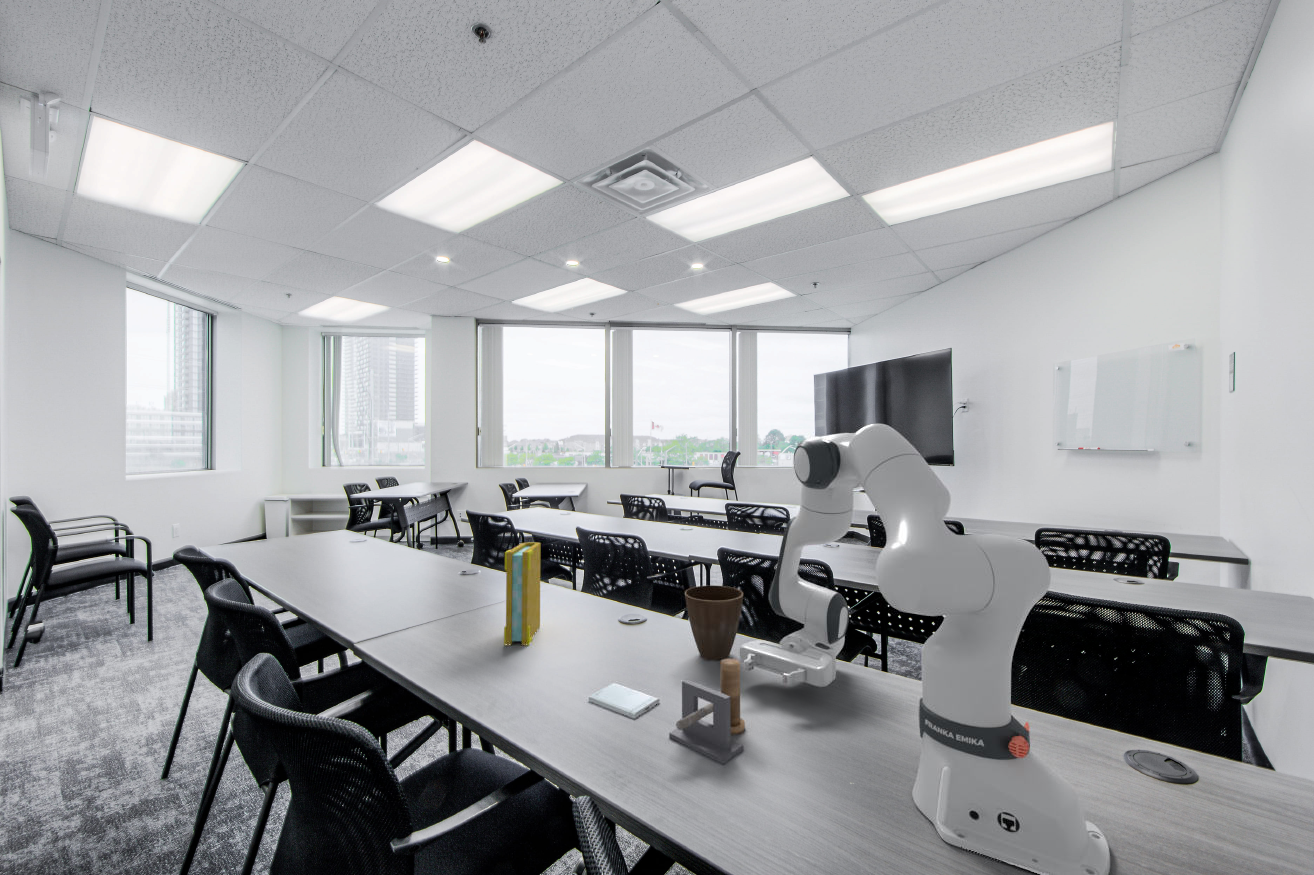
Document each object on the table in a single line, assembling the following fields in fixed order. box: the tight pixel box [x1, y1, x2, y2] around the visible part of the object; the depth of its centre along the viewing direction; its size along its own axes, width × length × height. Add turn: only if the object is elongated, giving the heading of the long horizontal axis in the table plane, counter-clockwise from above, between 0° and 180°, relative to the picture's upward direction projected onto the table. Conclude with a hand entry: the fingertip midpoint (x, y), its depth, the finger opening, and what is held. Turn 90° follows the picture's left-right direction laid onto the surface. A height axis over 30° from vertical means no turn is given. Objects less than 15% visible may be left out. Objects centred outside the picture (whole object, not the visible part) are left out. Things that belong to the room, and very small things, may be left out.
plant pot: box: [684, 585, 744, 662], centre depth 133 cm, size 15×15×16 cm
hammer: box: [675, 658, 746, 736], centre depth 93 cm, size 5×17×12 cm, turn 136°
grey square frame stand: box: [668, 679, 745, 765], centre depth 92 cm, size 12×6×10 cm, turn 46°
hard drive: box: [588, 682, 661, 719], centre depth 107 cm, size 2×8×12 cm
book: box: [503, 541, 541, 646], centre depth 149 cm, size 17×7×25 cm, turn 179°
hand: (765, 672), depth 106 cm, fingers open, 8 cm apart
